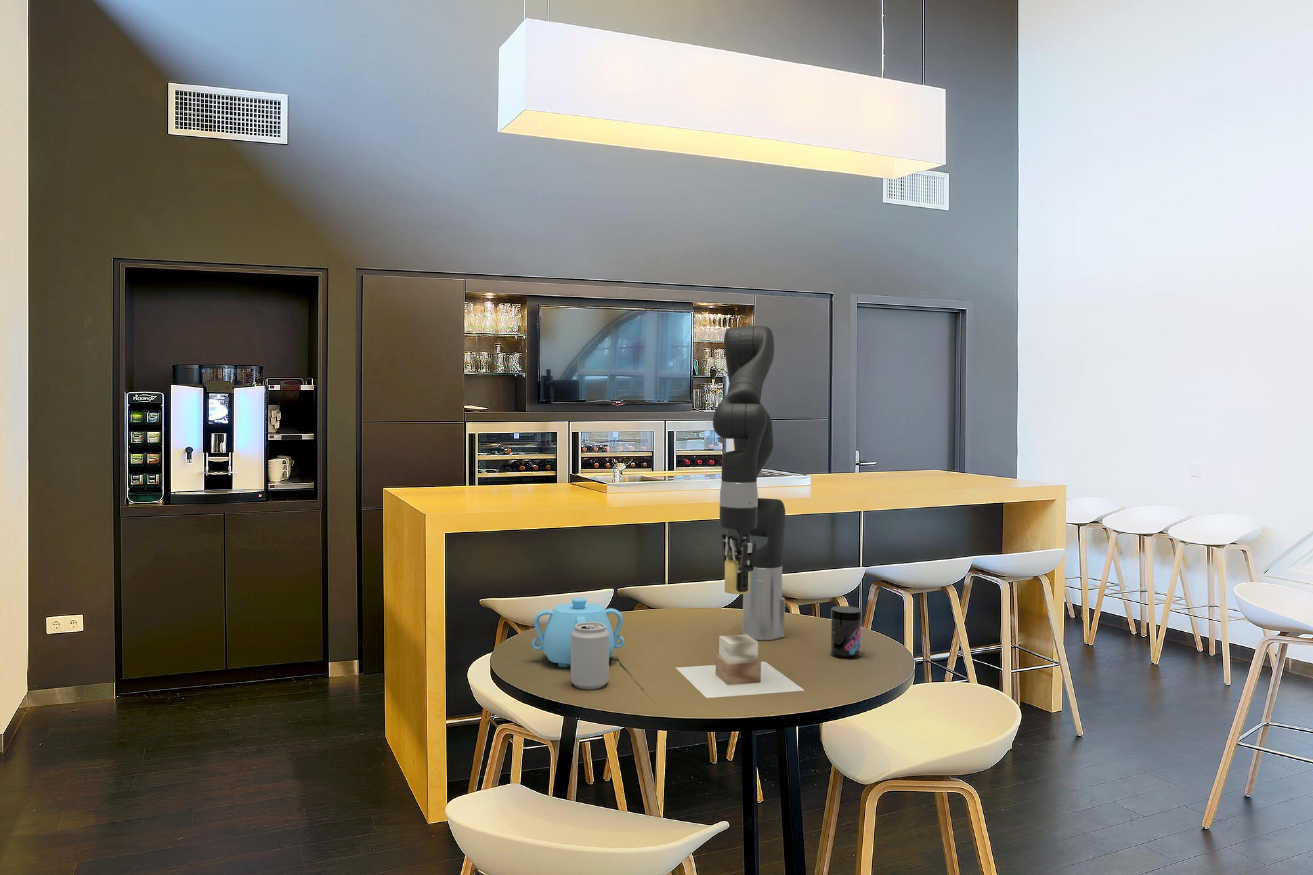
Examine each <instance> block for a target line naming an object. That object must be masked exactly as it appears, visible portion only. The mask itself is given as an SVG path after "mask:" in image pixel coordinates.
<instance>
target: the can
mask: <svg viewBox="0 0 1313 875" xmlns="http://www.w3.org/2000/svg"><path fill="white" fill-rule="evenodd" d="M574 627H575V629H574V631H573V632H572V633H571V665H570V682H571V684H573V685H574V687H576V688H577V689H578V688H579V689H583V690H596V689H600V688H603V687H604V686H605V685H606V684H608V682H609V678H610V676H609V674H610V673H609V671H610V670H609V668H610V666H609V665H610V661H609V660H610V658H609V632H608V631H607V630H606V629H605V628H606V625H605V624H603V623H598V622H583V623H578V624H576V625H575V626H574Z"/></svg>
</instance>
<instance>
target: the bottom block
mask: <svg viewBox="0 0 1313 875" xmlns="http://www.w3.org/2000/svg"><path fill="white" fill-rule="evenodd" d="M761 662H762V661H760V660H758V662H752V663H737V664H729V663H727V662H726V661H725V660H724V659H722V658H721V657H720V656H719V654H715V665H716V674H715V675H716V676H718V677H719V678H720V679H721V680H722V681H723V682H724V683H726V684H727V685H735V684H749V683H761Z"/></svg>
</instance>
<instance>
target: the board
mask: <svg viewBox="0 0 1313 875" xmlns="http://www.w3.org/2000/svg"><path fill="white" fill-rule="evenodd" d="M760 662H761V683H749V684H735V685H727V684H726V683H724V682H723V681H722V680H721V679H720V678H719V677H718V676H716V675H715V674H716V664H712V665H710V664H709V665H695V666H681V667H675V669H676V671H678V672H679V673H680V674H681V675H682V676H683V677H684V678H685V679H687V681H688V682H689V683H690V684H692V685H693V687H695V689H697V690H698V691H699V692H700V693H701V694H702V696H703V697H705V698H706V699H713V698H714V699H715V698H726V697H727V698H728V697H740V696H752V695H753V696H754V695H755V696H756V695H765V694H766V695H767V694H777V693H790V692H792V693H793V692H803V691H806V690H805V689H803V687H801V686H799V685H798V684H797V683H795V682H794V681H793V680H791V679H790V678H789V677H787V676H785V675H784V674H783V673H782V672H780V671H778V669H776V668H775V667H773V666H772V665H770V664H769V663H768V662H766V661H760Z"/></svg>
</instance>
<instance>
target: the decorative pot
mask: <svg viewBox="0 0 1313 875" xmlns="http://www.w3.org/2000/svg"><path fill="white" fill-rule="evenodd" d="M608 614H613V615H616V617H617V624H616V628H615V631H613V626H612V625H611V621H610V619H609V617H608ZM546 615H548V616H549V618H548V620H547V622H546V625H545V628H544V631H543V632H542V629H541V626H540V618H541V617H543V616H546ZM623 618H624V617H623V615H622V613H621V612H620V611H619V610H617V609H616V608H611V607H610V608H605V609H604V607H603V606H602V605H601V604H597V603H590V602H587V598H585V597H574V598H572V599H571V602H570V603H560V604H557V605H555V606H554V608H553V609H552V610H550V609H544V610H541V611H539V612H538V613H537V614H536V615H535V616H534V619H533V621H534V622H533V624H534V628H535V631H536V634H537V636H536V637H534V638H533V639H532V641H531V647H532V648H533V649H534V650H537V651H542V650H543V652H544V655H545V656H546V657H547V658H548V659H547V660H548V661H550V662H551V663H555V664H558V667H560V668H569V667H571V633H572V632H573V631H574V629H575V627H574V626H575V625H576V624H578V623H583V622H598V623H603V624H605V625H606V628H605V629H606V630H607V631H608V632H609V659H610V657H611V656H612V655H613V653H614V650H615V649H621V648H623V647H624V645H625V643H626V642H625V638H624V637H623V636H622V635H619V634H620V632H621V629H622V627H623V623H624V619H623ZM618 640H620V642H619V643H618V642H617V641H618ZM538 641H539V645H538V644H537V642H538Z"/></svg>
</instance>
